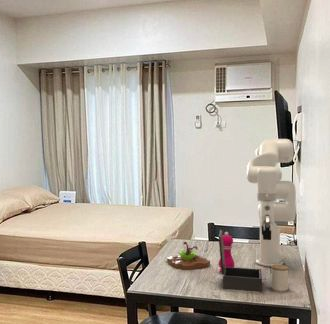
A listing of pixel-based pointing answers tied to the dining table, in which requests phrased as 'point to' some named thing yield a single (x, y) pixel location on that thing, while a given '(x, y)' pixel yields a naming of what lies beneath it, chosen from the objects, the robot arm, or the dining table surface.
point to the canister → (279, 277)
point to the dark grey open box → (242, 279)
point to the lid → (222, 252)
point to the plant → (188, 259)
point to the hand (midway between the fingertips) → (266, 237)
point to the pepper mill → (227, 251)
